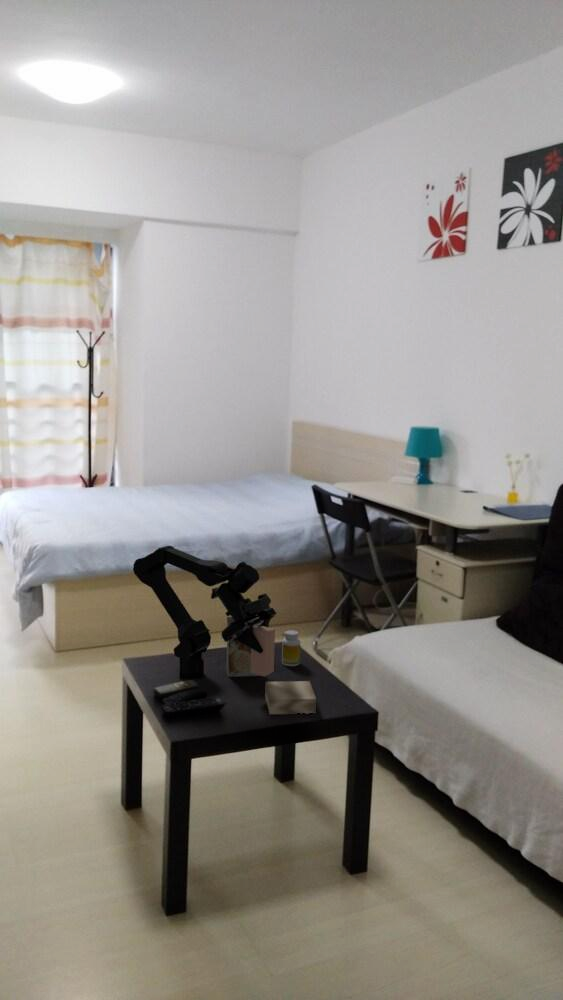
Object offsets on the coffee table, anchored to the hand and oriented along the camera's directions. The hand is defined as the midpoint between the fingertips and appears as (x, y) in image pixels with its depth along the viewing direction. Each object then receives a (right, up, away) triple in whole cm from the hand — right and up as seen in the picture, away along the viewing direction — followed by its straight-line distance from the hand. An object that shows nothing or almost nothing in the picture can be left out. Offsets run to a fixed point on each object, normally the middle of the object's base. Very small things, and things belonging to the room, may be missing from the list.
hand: (267, 649), depth 231 cm
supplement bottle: (+7, -9, +28) cm, 30 cm away
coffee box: (-7, -10, +19) cm, 23 cm away
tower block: (-1, -6, +2) cm, 7 cm away
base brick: (+6, -14, -2) cm, 16 cm away
